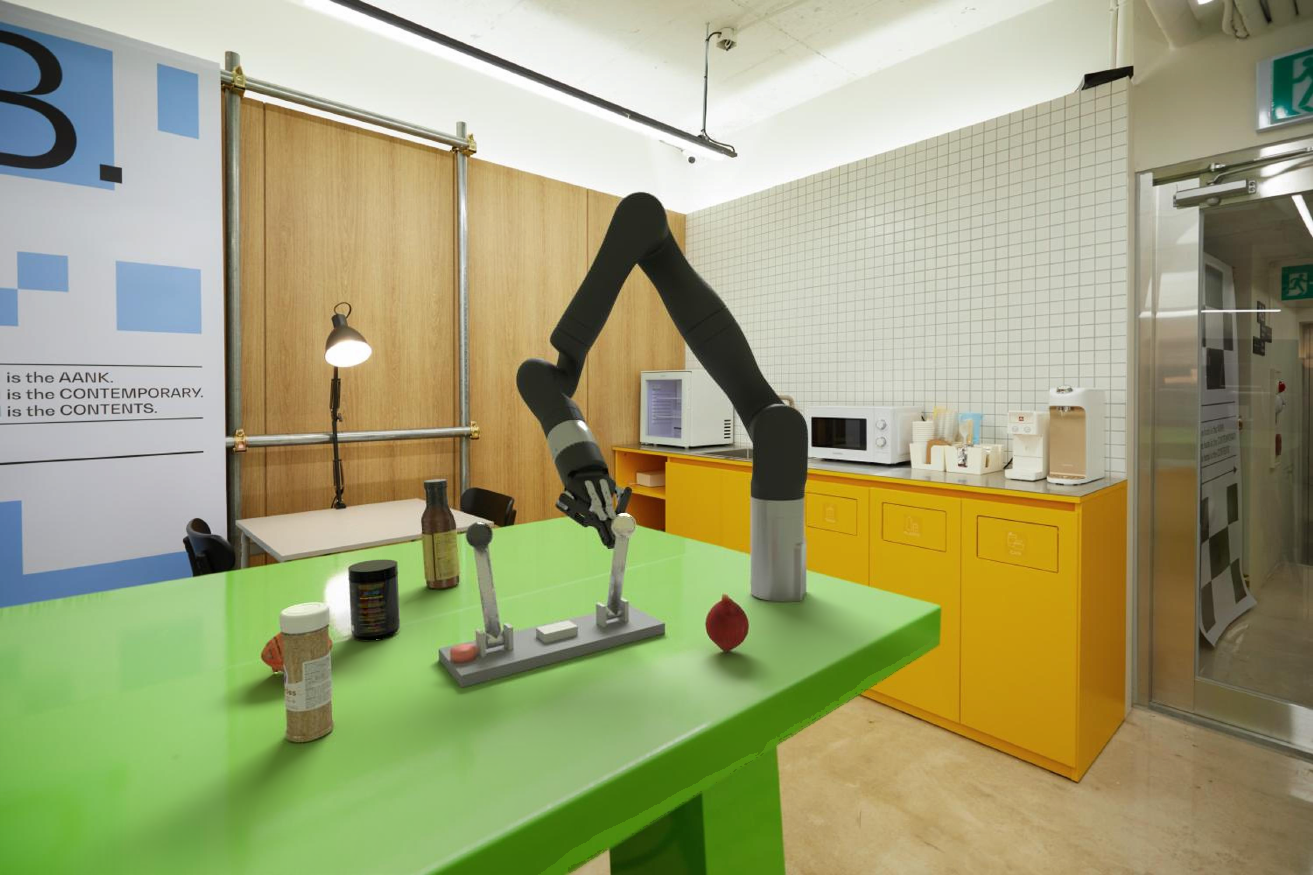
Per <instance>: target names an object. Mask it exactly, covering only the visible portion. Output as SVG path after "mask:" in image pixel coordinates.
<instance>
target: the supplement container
mask: <svg viewBox="0 0 1313 875" xmlns="http://www.w3.org/2000/svg"><path fill="white" fill-rule="evenodd" d="M398 564H399V563H398V561H397V560H392V559H371V560H365V561H360V562H357V563H353V564H351V565H349V566H348V567H347V572H348V573H347V574H348V578H347V579H348V588H349V590H348V591H349V592H348V593H349V609H350V611H349V612H350V630H351V636H352V638H354V639H355V640H356V639H358V640H357V641H359V640H376V639H381V640H384V639H383V638H385V639H387V638H386V637H388V638H390V637H392V636H394V635H395V633H396V632H397V633H398V631H399V630H400V627H401V623H400V598H399V596H400V595H399V568H398V567H399V565H398ZM393 634H394V635H393ZM389 636H390V637H389ZM376 641H377V640H376Z"/></svg>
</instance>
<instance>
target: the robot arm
mask: <svg viewBox="0 0 1313 875" xmlns="http://www.w3.org/2000/svg"><path fill="white" fill-rule="evenodd" d="M636 265H638V267H639V268H640V269H641V271H642V272H643V274H645V276H646V277H647V278H648V279H649V281H650V282H651V284H652V285H653V287H654V288H655V290H656V292H657V294H658V295H659V297H660V299H661V302H662V303H663V305H664V307H665V309H666V311H667V313H668V315H669V317H670V318H671V320H672V322H673V324H674V326H675V328H676V329H677V331H678V332H679V334H680V336H681V337H682V338H683V341H685V343H686V345H687V346H688V348H689V349H690V351H691V352H692V354H693V356H694V357H695V358H696V359H697V361H698V362H699V363H700V364H701V366H702V367H703V368H704V370H705V371H706V372H707V374H708V375H709V376H710V377H711V379H712V380H713V381H714V382H715V383H716V384H717V386H718V387H719V388H720V389H721V390H722V392H723V393H724V394H725V395H726V397H727V398H728V400H729V401H730V404H732V406H733V408H734V411H735V412H736V413H737V415H738V417H739V419H740V421H741V423H742V425H743V426H744V429H745V430H746V433H747V435H748V437H749V439H750V441H751V443H752V473H751V480H750V593H751V595H752V596H754V597H755V598H758V599H760V600H765V601H769V602H770V601H771V602H792V601H793V602H794V601H797V602H802V601H803V598H804V597H805V594H806V592H807V538H806V537H805V505H806V504H805V501H806V500H805V499H806V498H805V497H806V496H805V494H806V492H805V490H806V483H807V480H808V468H809V466H808V464H809V462H808V461H809V431H808V424H807V421H806V418H805V417H804V415H803V414H802V413H801V412H800V411H799V410H798V409H796V408H795V407H793V406H790V405H787V404H786V403H785V402H784V401H783V400H782V399H781V397H780V396H779V395H778V394H777V392H776V391H775V390H774V389H773V387H772V386H771V385H770V384H769V382H768V381H767V379H766V378H765V376H764V374H763V372H762V371H761V369H760V367H759V365H758V363H757V360H756V358H755V355H754V353H753V351H752V348H751V346H750V343H749V341H748V340H747V338H746V336H745V333H744V332H743V330H742V328H741V326H740V324H739V323H738V321H737V320H736V318H735V317H734V315H733V313H732V312H731V311H730V309H729V307H728V306H727V305H726V304H725V302H724V301H723V300H722V298H721V296H720V295H719V294H718V293H717V292H716V291H715V290H714V289H713V288H712V286H711V285H710V284H709V283H708V282H707V281H706V280H705V279H704V278H703V277H702V276H701V275H700V274H699V273H698V271H697V270H696V269H695V268H693V266H692V265H691V263H690V262H689V261H688V259H687V258H686V256H685V255H684V253H683V250H682V249H681V247H680V246H679V244H678V242H677V240H676V239H675V237H674V234H673V232H672V230H671V227H670V225H669V221H668V215H667V211H666V208H665V207H664V205H663V203H662V202H661V200H660V199H659V198H658V197H656V195H653V194H652V193H650V192H646V191H637V192H631V193H629V194H628V195H626V196H625V197H623V198H622V199H621V200H620V201H619V202H618V204H617V206H616V207H615V210H614V212H613V215H612V217H611V220H610V223H609V225H608V228H607V230H606V233H605V235H604V238H603V241H602V244H601V245H600V247H599V249H598V252H597V254H596V256H595V258H594V260H593V262H592V264H591V266H590V268H589V270H588V271H587V273H586V275H585V277H584V278H583V280H582V283H581V284H580V285H579V287H578V289H577V290H576V292H575V294H574V296H573V297H572V299H571V300H570V302H569V304H567V307H566V309H565V311H564V312H563V314H562V315H561V317H560V319H559V321H558V322H557V324H556V326H555V327H554V329H553V330H552V332H551V334H550V337H549V342H550V345H551V346H552V348H554V349H555V350H556V351H557V352H558V358H557V362H556V365H555V364H554V363H552V362H550V361H548V360H546V359H544V358H540V357H530V358H528V359H525V360H524V361H523V362H522V363H521V364H520V365H519V367H518V369H517V372H516V377H515V378H516V380H515V381H516V382H515V383H516V388H517V391H518V393H519V395H520V397H521V398H522V400H523V402H524V404H525V405H526V406H527V407H528V409H529V411H530V412H531V413H532V414H533V416H534V417H535V418H536V419H537V421H538V422H539V424H540V425H541V428H542V431H543V433H544V436H545V438H546V441H547V445H548V448H549V454H550V456H551V460H552V461H553V463H554V465H555V468H556V471H557V473H558V475H559V476H558V477H559V479H560V481H561V483H562V486H563V487H564V488H563V492H561V493H560V494H559V497H558V498H557V500H556V503H554V504H555V508H556V509H558V510H559V511H560V512H562V513H563V514H565V515H566V516H567V517H568V518H570V519H572V520H573V521H575V522H576V523H577V524H579V525H580V526H582V527H583V528H588V527H592V528H594V529H595V530H596V531H597V534H598V535H599V538H600V540H601V543H602V545H603V546H605V547H606V548H607V550H611V549H612V550H614V543H615V535H614V534H613V532H612V529H611V522H612V520H613V518H614V517H615V516H616V515H618V514H621V513H626V511H627V508H628V505H629V502H630V499H631V496H632V494H633V488H632V487H630V486H626V487H624V488H623V487H621V486H618V485H617V482H616V480H615V479H614V478H613V477H611V475H610V472H609V471H610V470H609V466H608V464H607V462H606V459H605V458H604V455H603V453H602V451H601V449H600V446H599V445H598V443H597V440H596V438H595V436H594V434H593V432H592V430H591V428H590V427H589V425H588V424H587V421H586V419H585V418H584V415H583V413H582V410H581V408H580V407H579V405H578V404H577V403H576V402H575V401H574V400H573V399H572V398H573V397H574V396H575V394H576V391H577V389H578V387H579V386H578V385H579V383H580V379H581V376H582V372H583V369H584V366H585V363H586V359H587V355H588V353H589V352H590V350H591V348H592V347H593V346H594V344H595V342H596V340H597V339H598V338H599V335H600V334H601V332H602V330H603V328H604V327H605V325H606V324H607V321H608V319H609V317H610V314H611V312H612V311H613V307H614V306H615V303H616V301H617V299H618V296H619V295H620V292H621V290H622V289H623V286H624V284H625V283H626V281H627V278H628V277H629V275H630V274H631V272H632V271H633V269H634V268H635V266H636ZM613 497H614V498H615V502H616V503H617V504H616V507H615V508H614V500H613Z"/></svg>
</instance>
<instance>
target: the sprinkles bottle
mask: <svg viewBox="0 0 1313 875" xmlns="http://www.w3.org/2000/svg"><path fill="white" fill-rule="evenodd" d="M330 613H331V611H330V607H329V605H328V604H327V603H323V602H320V601H319V602H318V601H317V602H315V601H313V602H311V601H310V602H305V603H298V604H295V605H294V604H293V605H291V606H289V607H286V608H284V609H282V610H281V612H280V613H279V630H280V632H281V631H282V632H281V633H282V635H283V652H284V664H283V666H284V672H283V682H284V706H285V713H286V714H285V716H286V730H285V738H286V739H287V740H288V741H290V742H293V743H305V742H311V741H314V740H316V739H319V738H322V737H324V736H326V735H327V734H329V733H330V732H331V731H332V730H333V728H334V726H335V722H334V719H333V707H332V706H333V704H332V698H333V685H332V661H331V650H330V649H329V637H330V636H329V634H330V633H329V627H330V622H331V617H330Z"/></svg>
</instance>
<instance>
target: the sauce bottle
mask: <svg viewBox="0 0 1313 875" xmlns="http://www.w3.org/2000/svg"><path fill="white" fill-rule="evenodd" d="M447 487H448V480H447V479H445V478H435V479H428V480H424V481H423V488H424V490H425V500H426V501H425V504H426V506H425V509H424V510H423V513H422V515H421V519H420V524H421V542H422V543H421V546H422V557H423V569H424V570H423V571H424V579H425V583H426V587H427V588H428V589H434V590H441V589H443V590H444V589H449V588H452V587H455V586H457V585H458V584H459V583H460V574H461V571H460V568H461V567H460V557H459V545H458V544H459V543H458V542H459V541H458V531H457V523H456V519H455V516H454V514H453V513H452V510H451V508H450V506H449V503H448V502H449V500H448V493H447V491H448V490H447Z"/></svg>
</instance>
